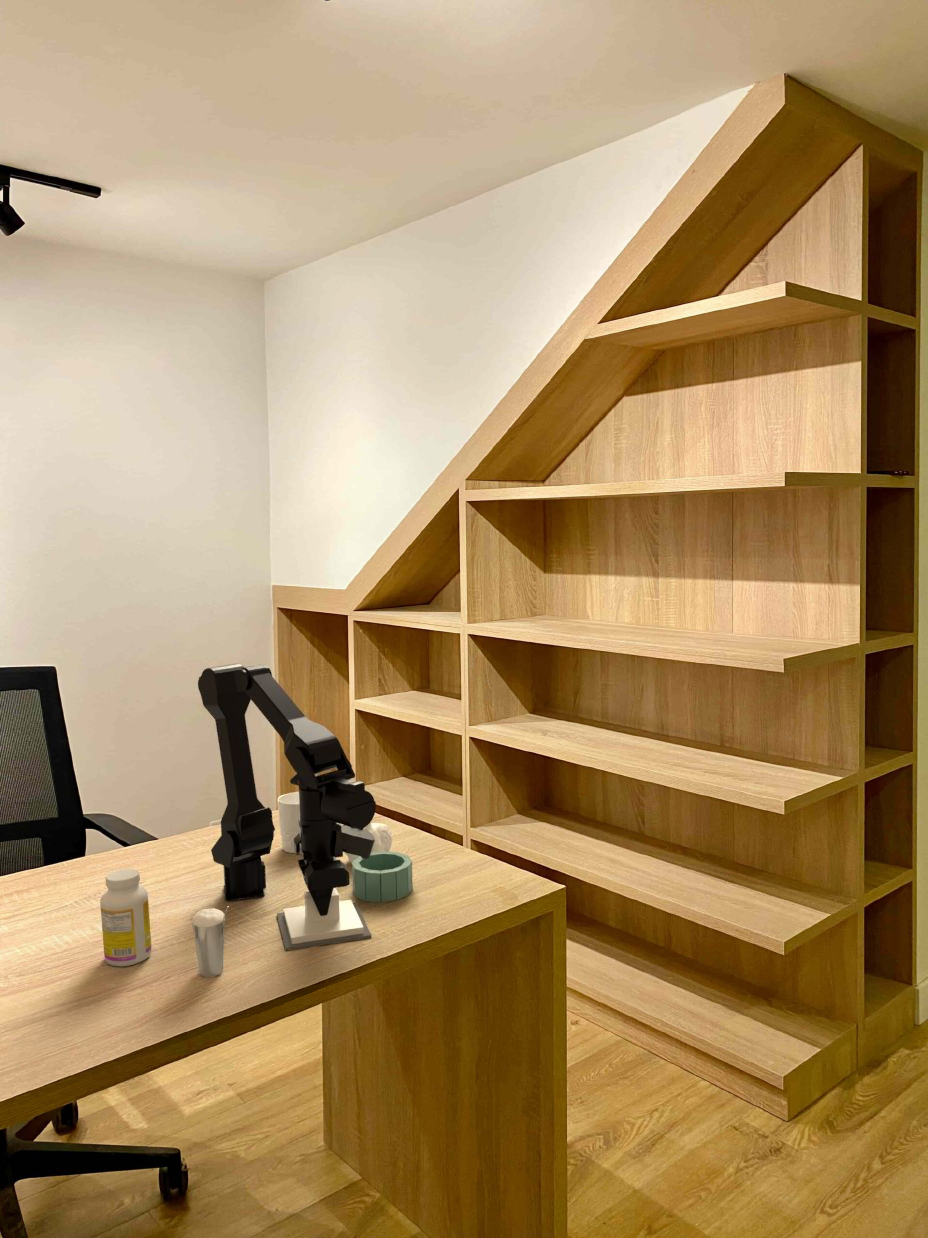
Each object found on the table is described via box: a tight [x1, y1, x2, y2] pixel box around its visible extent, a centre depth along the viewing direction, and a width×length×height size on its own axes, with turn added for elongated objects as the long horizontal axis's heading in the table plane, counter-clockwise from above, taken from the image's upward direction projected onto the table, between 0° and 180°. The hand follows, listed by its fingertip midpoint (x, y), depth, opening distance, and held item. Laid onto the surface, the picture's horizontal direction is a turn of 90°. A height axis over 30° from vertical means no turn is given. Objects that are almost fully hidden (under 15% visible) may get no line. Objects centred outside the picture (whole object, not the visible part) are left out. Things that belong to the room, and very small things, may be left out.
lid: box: [283, 888, 364, 944], centre depth 149 cm, size 11×11×5 cm
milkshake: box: [191, 905, 230, 978], centre depth 135 cm, size 5×5×10 cm
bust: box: [345, 822, 393, 864], centre depth 178 cm, size 12×8×11 cm
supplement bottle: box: [99, 868, 153, 967], centre depth 140 cm, size 7×7×13 cm
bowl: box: [351, 851, 414, 903], centre depth 163 cm, size 10×10×5 cm
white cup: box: [277, 791, 301, 854], centre depth 184 cm, size 8×8×10 cm
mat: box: [276, 902, 372, 951], centre depth 149 cm, size 13×13×1 cm
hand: (322, 911), depth 149 cm, fingers closed on lid, 3 cm apart
